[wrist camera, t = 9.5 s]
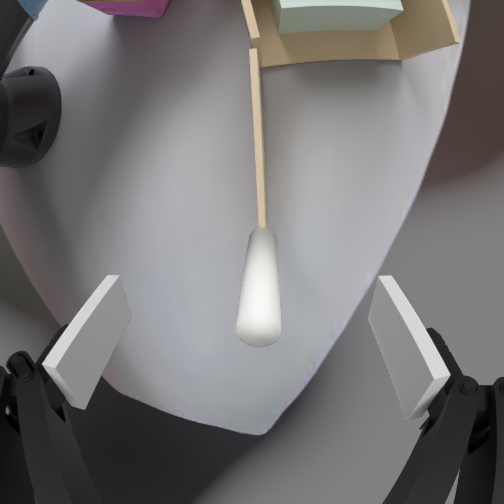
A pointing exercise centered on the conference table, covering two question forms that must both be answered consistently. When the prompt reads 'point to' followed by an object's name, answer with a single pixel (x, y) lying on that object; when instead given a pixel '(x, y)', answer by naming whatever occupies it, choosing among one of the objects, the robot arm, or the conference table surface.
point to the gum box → (129, 7)
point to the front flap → (259, 248)
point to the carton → (346, 29)
